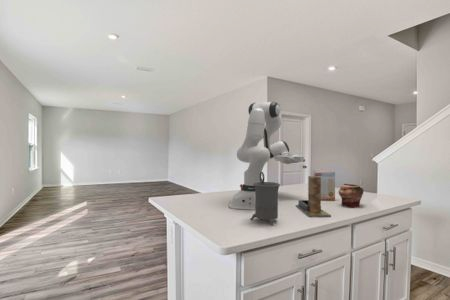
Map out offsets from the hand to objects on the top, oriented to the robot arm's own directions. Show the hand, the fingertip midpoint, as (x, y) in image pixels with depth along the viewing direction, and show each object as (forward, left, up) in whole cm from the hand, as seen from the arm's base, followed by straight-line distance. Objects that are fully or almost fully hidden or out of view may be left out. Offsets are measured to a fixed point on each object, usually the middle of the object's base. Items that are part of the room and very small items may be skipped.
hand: (292, 158), depth 172 cm
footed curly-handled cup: (-26, -43, -31) cm, 59 cm away
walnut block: (+5, -28, -29) cm, 41 cm away
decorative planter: (+37, -10, -31) cm, 49 cm away
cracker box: (+26, +8, -31) cm, 41 cm away
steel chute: (+5, -24, -30) cm, 39 cm away
